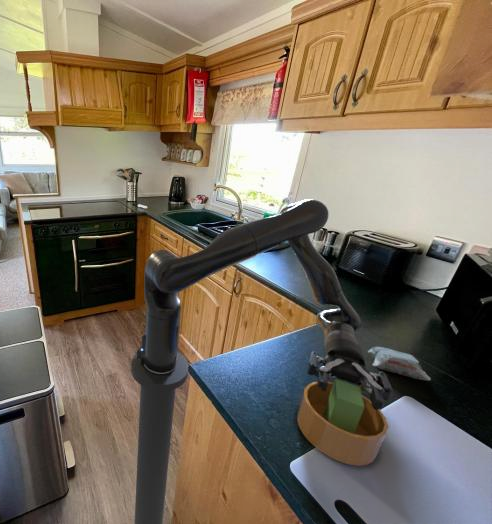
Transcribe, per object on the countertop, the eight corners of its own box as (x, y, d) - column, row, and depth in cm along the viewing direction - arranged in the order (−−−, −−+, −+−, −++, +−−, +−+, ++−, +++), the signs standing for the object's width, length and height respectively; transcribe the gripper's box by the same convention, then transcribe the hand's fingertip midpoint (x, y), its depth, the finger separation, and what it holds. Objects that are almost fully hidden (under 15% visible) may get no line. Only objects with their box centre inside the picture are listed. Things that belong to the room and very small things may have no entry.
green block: (323, 435, 59) (337, 397, 56) (322, 414, 64) (334, 378, 61) (349, 445, 57) (364, 407, 54) (346, 423, 62) (360, 386, 59)
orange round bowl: (295, 442, 58) (303, 416, 56) (298, 396, 70) (304, 372, 68) (383, 480, 52) (396, 452, 50) (369, 422, 64) (380, 397, 61)
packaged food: (426, 387, 74) (433, 372, 73) (370, 371, 79) (375, 356, 78) (415, 368, 82) (422, 353, 80) (364, 354, 87) (369, 340, 85)
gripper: (312, 329, 71) (313, 367, 57) (385, 348, 64) (404, 396, 51) (305, 354, 73) (304, 396, 60) (374, 375, 67) (390, 427, 54)
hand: (350, 396), depth 56 cm, fingers open, 8 cm apart
